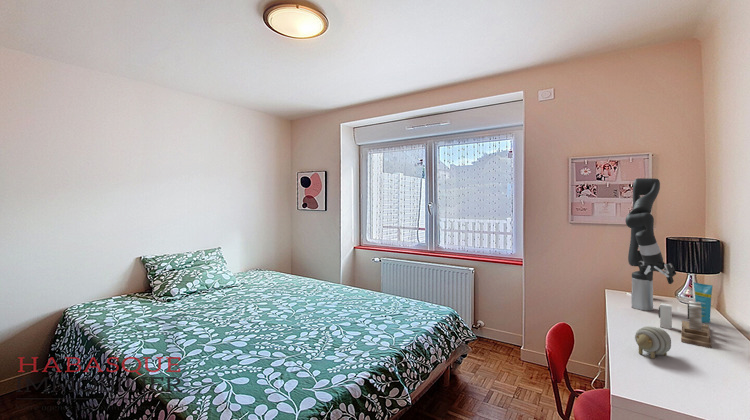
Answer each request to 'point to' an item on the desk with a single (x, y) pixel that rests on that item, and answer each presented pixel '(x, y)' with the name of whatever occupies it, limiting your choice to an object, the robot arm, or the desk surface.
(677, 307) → the desk surface
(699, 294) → the tube
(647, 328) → the toy sheep
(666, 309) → the grey finger
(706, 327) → the rail
